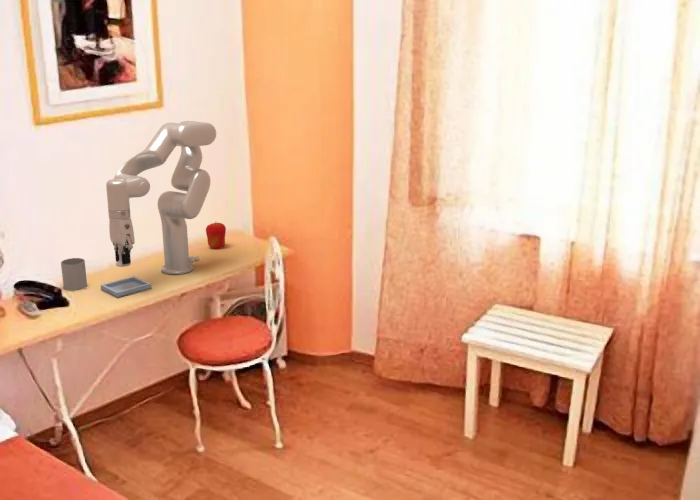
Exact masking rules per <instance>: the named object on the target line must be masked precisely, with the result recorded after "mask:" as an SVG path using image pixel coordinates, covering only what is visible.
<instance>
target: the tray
mask: <svg viewBox="0 0 700 500" xmlns="http://www.w3.org/2000/svg"><path fill="white" fill-rule="evenodd" d="M151 289H153V288H152V283H150V282H148V281H146V280H144V279H142V278H139V277H137V276H130V277H126V278H122V279H119V280H114V281H110V282H108V283H107V282H106V283H103V284H100V291H102V292H104V293H106V294H108V295H109V296H110V295H111V296H112V297H114V298H116V299H119V298H122V297H126V296H131V295H133V294H137V293H141V291H142V292H144V291H148V290H151Z"/></svg>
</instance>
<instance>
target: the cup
mask: <svg viewBox="0 0 700 500" xmlns="http://www.w3.org/2000/svg"><path fill="white" fill-rule="evenodd" d="M60 267H61V274H62V276H61V277H62V285H63V290H65V291H69V292H71V291H72V292H73V291H74V292H76V291H82V290H84V289H86V288H88V280H87V270H86V261H85V259H84V258H81V257H71V258H67V259H64V260H62V261H60Z"/></svg>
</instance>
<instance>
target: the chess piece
mask: <svg viewBox="0 0 700 500" xmlns="http://www.w3.org/2000/svg"><path fill="white" fill-rule="evenodd" d="M126 244H127V243H125V245H126ZM117 246H118V249H119V250H118V254H119V261H118V262H115V265H116V267H119V268H125V267H129V266H130V265H131V264H132V263H129V264H124V265H123V264H122V256H121V254H123V253H122V248H121V245H117ZM124 248H127V247H124Z"/></svg>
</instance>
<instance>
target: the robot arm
mask: <svg viewBox="0 0 700 500" xmlns="http://www.w3.org/2000/svg"><path fill="white" fill-rule="evenodd" d="M216 138H217V129H216V128H215V126H214V125H213V124H212V123H209V122H203V121H202V122H201V121H195V120H194V121H193V120H184V121H180V122H179V123H178V122H166V123H163V124H162V125H161V127H160V128H159V129H158V131H157V132H156V133H155V134H154V137H152V139H151V140H150V142H149V143H148V144H147V146H146V147H145V149H143V150H142V151H141V152H138V153H137V154H136V155H134V156H133V157H131V158H130V159H128V160H127V161H125V162H124V163H123V165H121V167H120V168H119V170H118V171H117V172H116V173H115V176H114V178H112V179H108V180H107V181H106V182H105V183H106V197H107V209H108V211H107V213H108V219H109V224H108V226H109V239H110V241H111V243H112V245H113V250H114V254H115V255H114V256H115V263H117V262H118V261H119V254H118V250H119V249H118V246H117V245H121V248H122V253H123V254H121V256H122V264H123V265H124V264H129V263H131V262H132V260H131V250H132V249H133V248H134V246H133V245H135V242H136V241H135V231H134V228H133V222H132V218H131V217H132V216H131V207H130V203H131V202H130V199H132V198H142V197H144V196H146V195H147V194H149V191H150V189H151V184H150V181H149V180H148V179H147V178H145V177H143V176H140V175H139V174H141V173H143V172H145V171H147V170H148V171H149V170H150V169H154V168H157V167H161V166H163V165H164V164H165V163H166V161H167V160H168V158H169V157H170V155H171V154H172V152H173V151H174V150H175V148H176V147H180V156H179V158H178V162H177V164H176V166H175V168H174V171H173V173H172V176H171V180H170V181H171V182H170V184H171V186H172V187H173V188H174V189H176V190H178V191H172V190H171V191H170V190H169V191H164V192H162V193H161V194H160V196H159V197H158V200H157V209H158V213H159V217H160V221H161V231H162V243H163V244H162V245H163V259H164V265H162V266H161V268H160V270H161V273H162V274H166V275H183V274H188V273H190V272H192V271H193V270H194V262H195V263H196V262H199V261H200V260H201V259H200V256H198V255H197V256H194V257H193V255H192V256H190V251H189V238H188V226H187V225H188V224H187V221H186V220H193V219H195V218H196V217H198V215H199V214H200V212H201V211H202V209H203V208H202V207H203V206H204V203H205V201H206V198H207V195H208V192H209V191H210V186H211V176H210V174H209V172H207V171H206V169H203V168H200V167H201V164H202V162H203V153H202V149H201V147H204V146H209V145H212V143H214V142H215V140H216ZM138 175H139V176H138ZM179 191H182V192H179ZM185 192H186V193H185ZM125 243H126V245H125ZM124 247H127V248H124ZM131 264H132V263H131Z"/></svg>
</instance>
